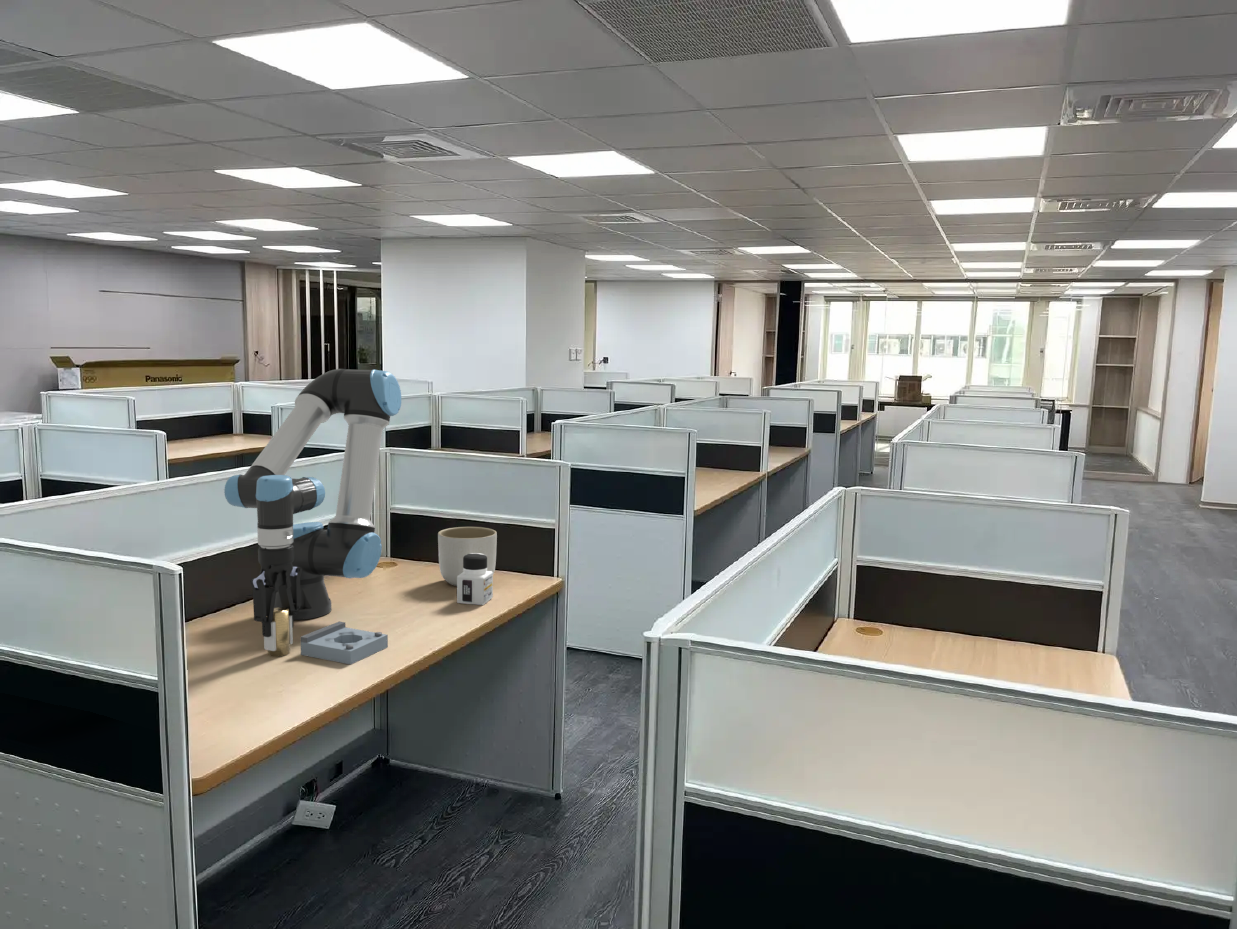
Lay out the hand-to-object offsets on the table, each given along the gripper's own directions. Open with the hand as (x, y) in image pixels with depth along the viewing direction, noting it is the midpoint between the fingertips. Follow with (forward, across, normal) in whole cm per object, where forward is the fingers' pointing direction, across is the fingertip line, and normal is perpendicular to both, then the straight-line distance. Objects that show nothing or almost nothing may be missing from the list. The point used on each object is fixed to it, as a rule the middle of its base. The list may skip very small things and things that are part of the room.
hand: (278, 646), depth 208 cm
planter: (+2, +72, -4) cm, 72 cm away
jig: (+2, +8, -12) cm, 15 cm away
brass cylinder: (+2, 0, 0) cm, 2 cm away
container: (+2, +57, -16) cm, 59 cm away
